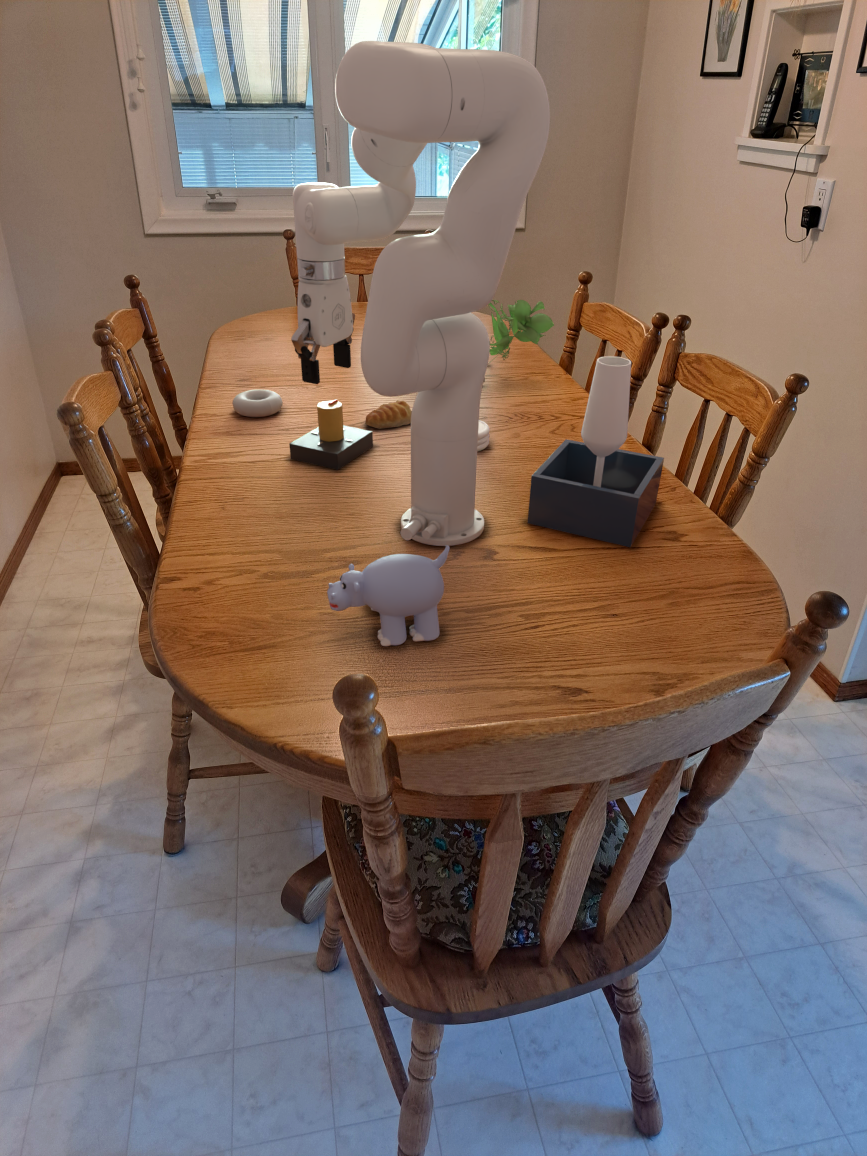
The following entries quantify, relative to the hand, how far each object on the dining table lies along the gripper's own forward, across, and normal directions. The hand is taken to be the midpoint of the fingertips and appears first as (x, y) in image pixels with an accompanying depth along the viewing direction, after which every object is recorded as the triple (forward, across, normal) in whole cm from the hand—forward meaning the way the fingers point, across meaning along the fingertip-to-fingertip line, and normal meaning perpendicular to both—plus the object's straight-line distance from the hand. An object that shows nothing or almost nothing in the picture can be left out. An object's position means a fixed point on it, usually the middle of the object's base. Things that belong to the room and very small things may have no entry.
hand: (327, 374), depth 134 cm
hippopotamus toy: (+14, -41, -36) cm, 56 cm away
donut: (+15, +10, +24) cm, 31 cm away
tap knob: (+11, 0, 0) cm, 11 cm away
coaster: (+14, +15, -20) cm, 28 cm away
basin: (+14, -1, -50) cm, 51 cm away
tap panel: (+14, 0, 0) cm, 14 cm away
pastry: (+15, +18, -2) cm, 23 cm away
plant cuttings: (+15, +50, -4) cm, 52 cm away
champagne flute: (+14, -1, -50) cm, 51 cm away
